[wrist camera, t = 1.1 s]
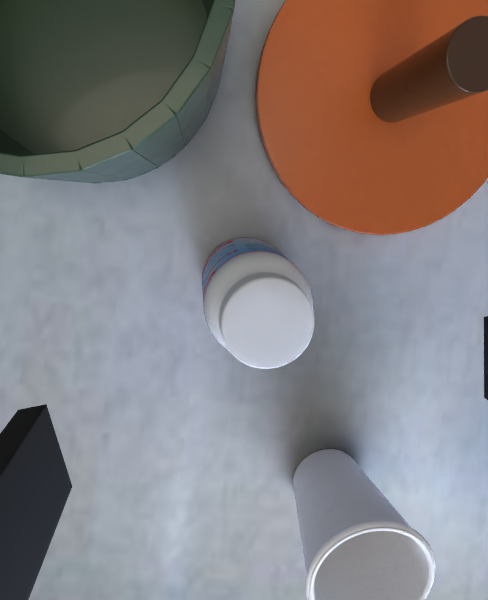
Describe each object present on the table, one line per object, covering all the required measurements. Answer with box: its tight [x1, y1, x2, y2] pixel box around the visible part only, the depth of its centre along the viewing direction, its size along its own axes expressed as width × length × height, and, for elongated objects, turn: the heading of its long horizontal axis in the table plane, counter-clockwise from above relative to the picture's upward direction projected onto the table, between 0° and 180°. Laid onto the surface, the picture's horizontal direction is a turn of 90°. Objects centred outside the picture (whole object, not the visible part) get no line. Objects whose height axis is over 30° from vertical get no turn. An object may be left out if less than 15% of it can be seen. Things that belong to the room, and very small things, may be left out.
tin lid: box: [256, 0, 488, 235], centre depth 25 cm, size 18×18×10 cm
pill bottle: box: [202, 238, 315, 369], centre depth 26 cm, size 6×6×11 cm
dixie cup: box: [293, 449, 435, 600], centre depth 31 cm, size 8×8×10 cm
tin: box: [0, 0, 235, 183], centre depth 21 cm, size 17×17×12 cm
